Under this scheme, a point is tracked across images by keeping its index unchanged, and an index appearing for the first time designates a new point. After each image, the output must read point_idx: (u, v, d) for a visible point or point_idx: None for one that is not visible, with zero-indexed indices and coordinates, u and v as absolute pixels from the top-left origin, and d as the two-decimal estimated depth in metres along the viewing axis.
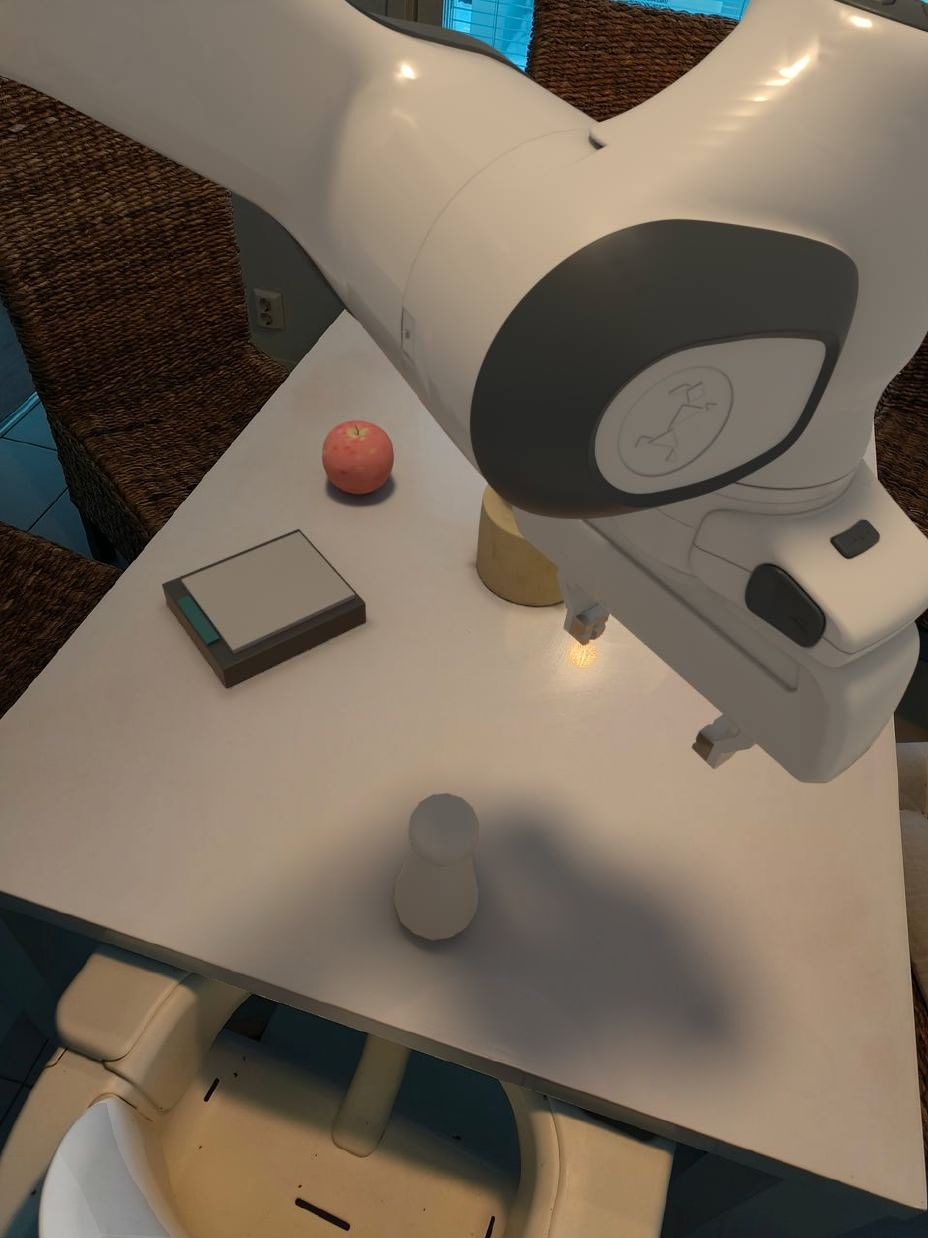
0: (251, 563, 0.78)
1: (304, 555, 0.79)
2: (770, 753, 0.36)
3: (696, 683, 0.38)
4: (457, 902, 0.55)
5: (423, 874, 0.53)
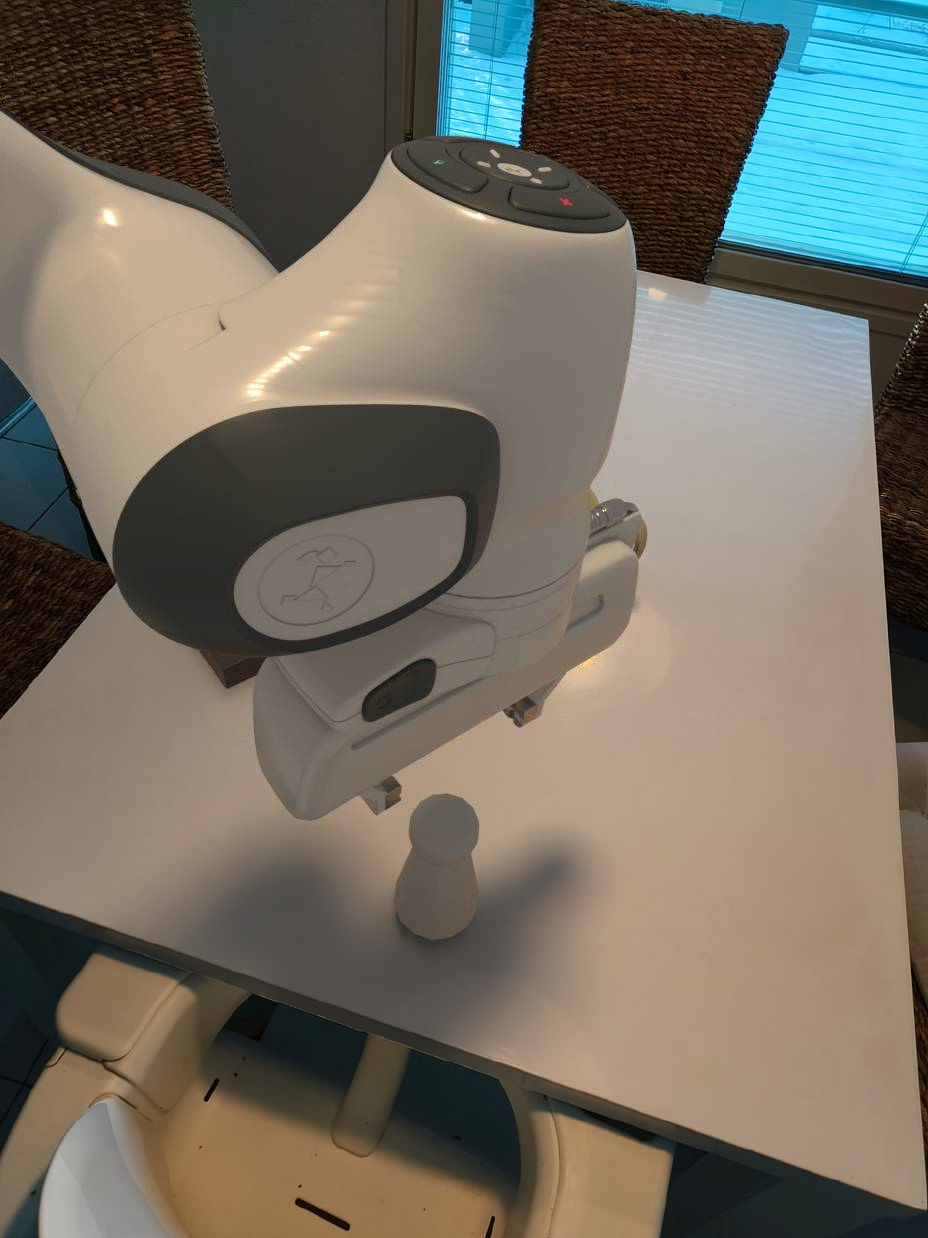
0: None
1: None
2: None
3: None
4: (457, 902, 0.55)
5: (423, 874, 0.53)
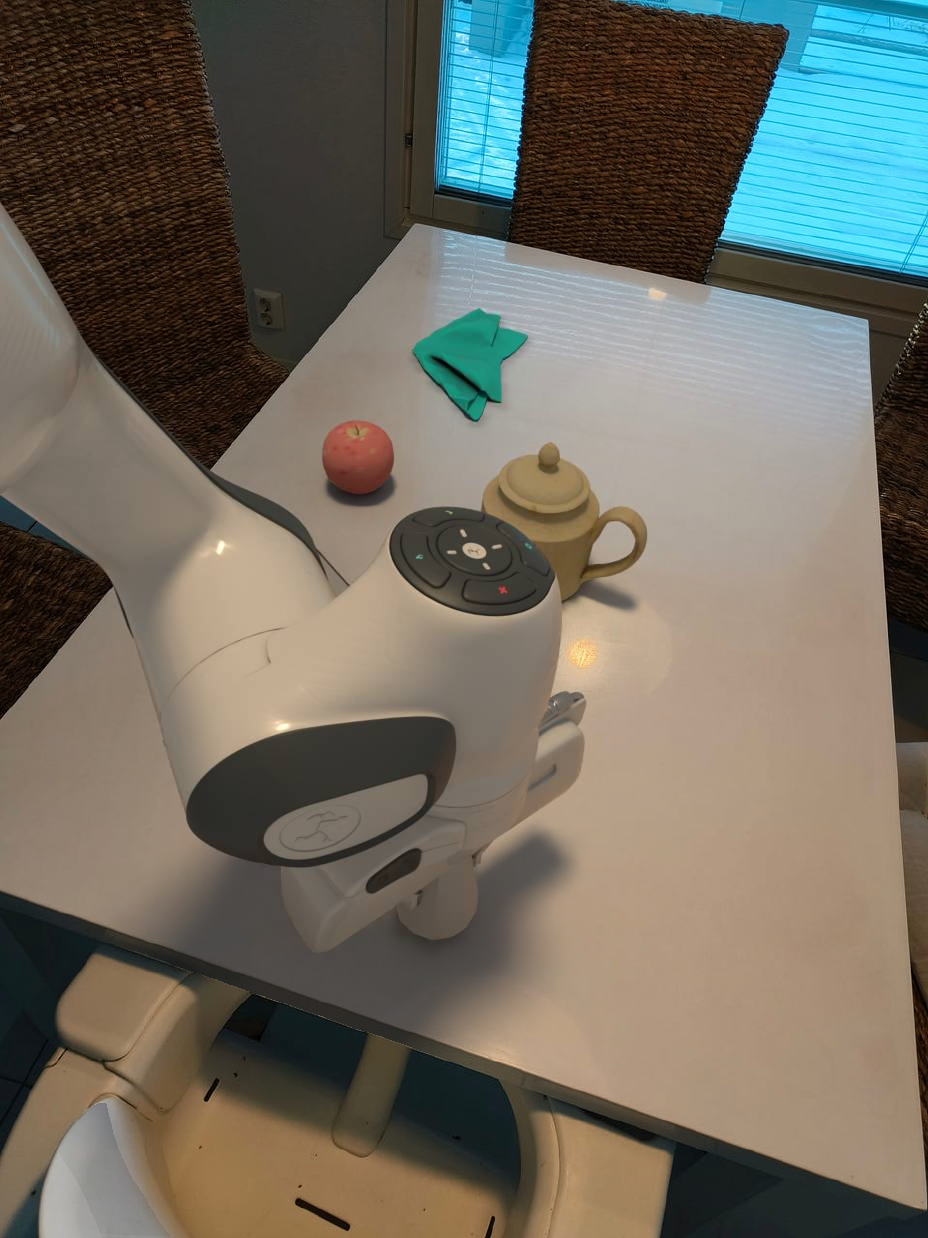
0: None
1: None
2: None
3: None
4: (457, 902, 0.55)
5: None
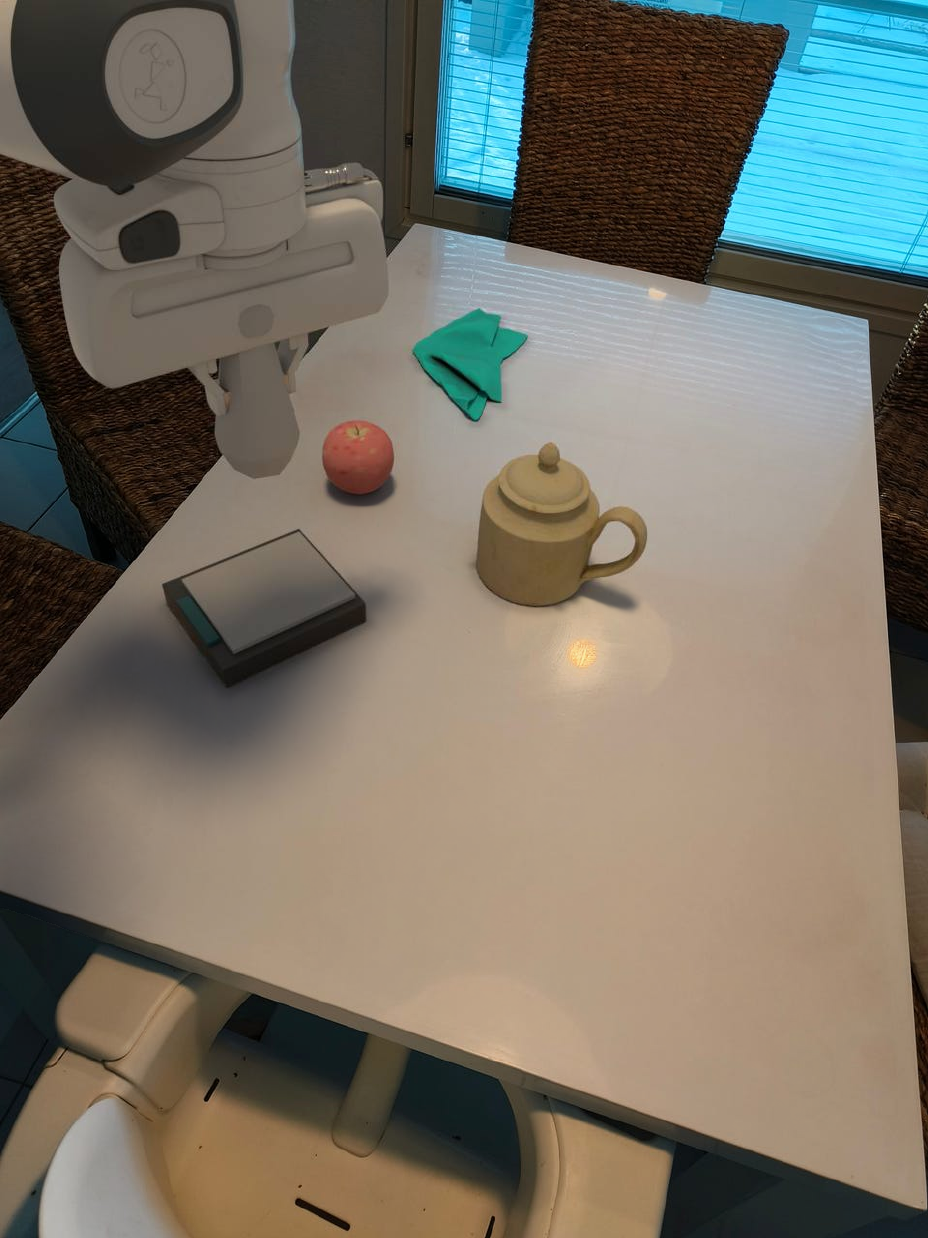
0: (251, 563, 0.78)
1: (304, 555, 0.79)
2: None
3: None
4: (266, 409, 0.56)
5: (226, 366, 0.54)
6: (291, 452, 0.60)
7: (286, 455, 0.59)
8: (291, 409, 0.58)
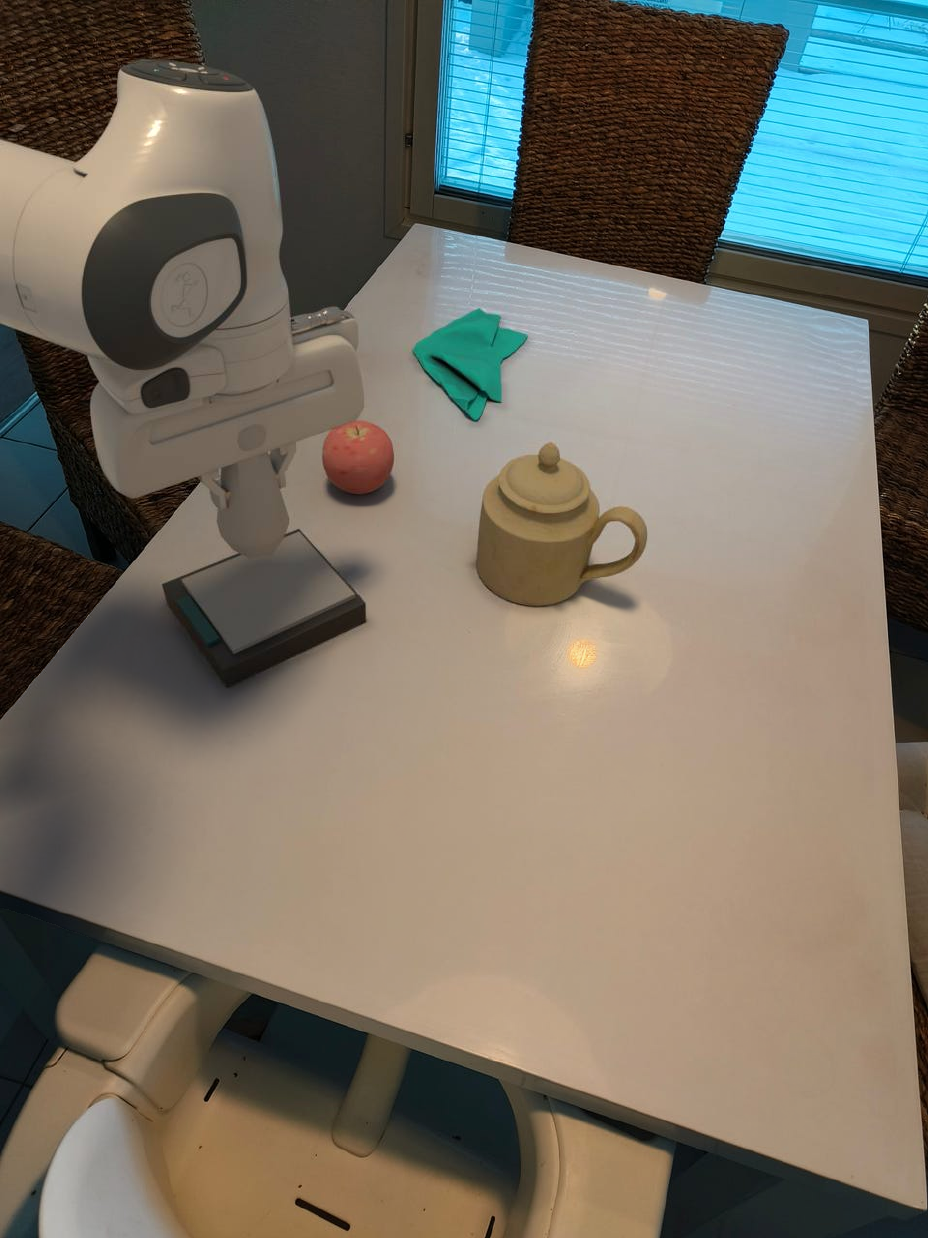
0: (251, 563, 0.78)
1: (304, 555, 0.79)
2: None
3: None
4: (260, 505, 0.66)
5: (227, 471, 0.65)
6: (282, 536, 0.70)
7: (278, 540, 0.69)
8: (282, 501, 0.69)
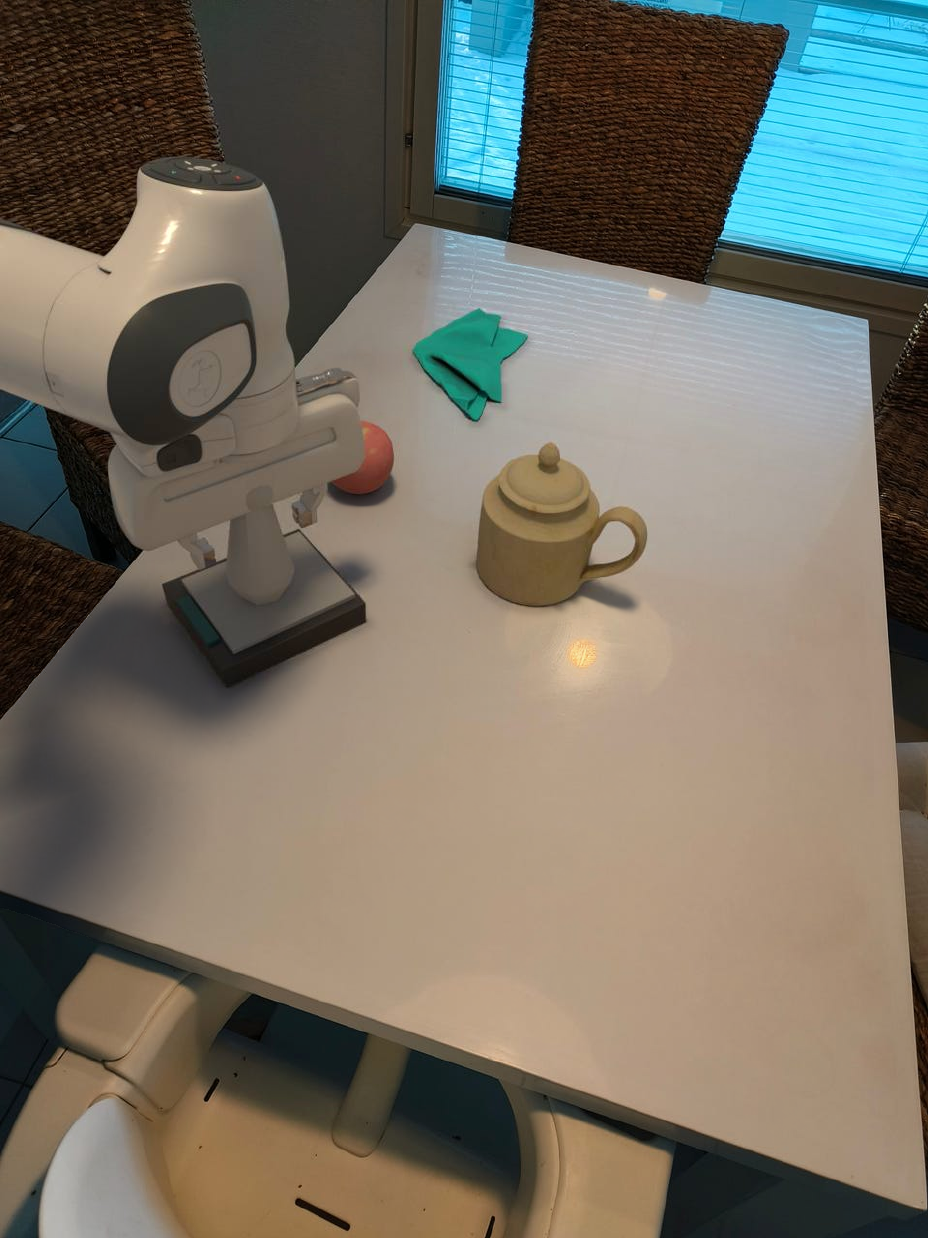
0: None
1: (304, 555, 0.79)
2: None
3: None
4: (267, 557, 0.71)
5: (236, 527, 0.69)
6: (287, 585, 0.74)
7: (283, 588, 0.73)
8: (287, 552, 0.73)
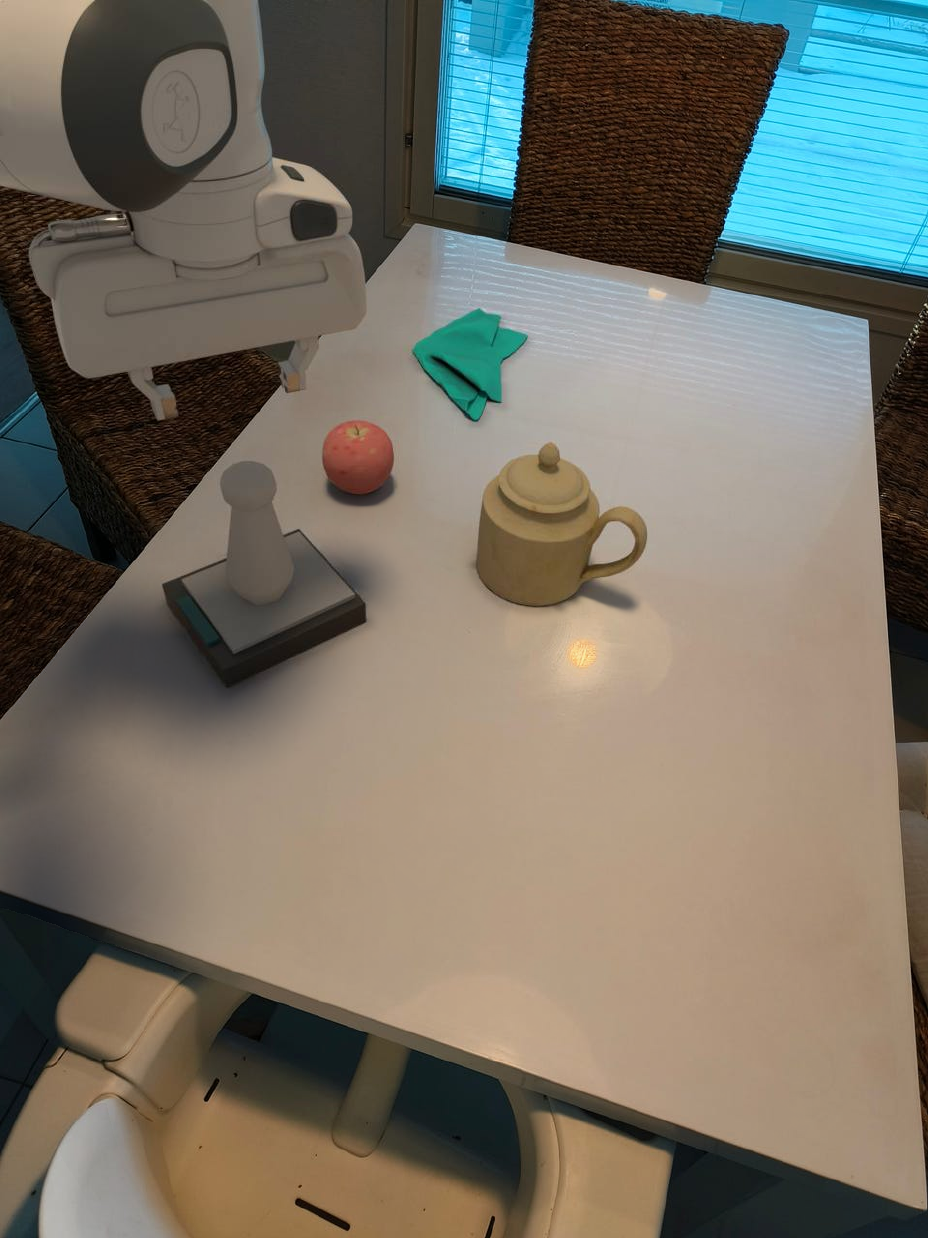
0: None
1: (304, 555, 0.79)
2: (335, 329, 0.60)
3: (277, 336, 0.58)
4: (267, 557, 0.71)
5: (236, 527, 0.69)
6: (287, 585, 0.74)
7: (283, 588, 0.73)
8: (287, 552, 0.73)
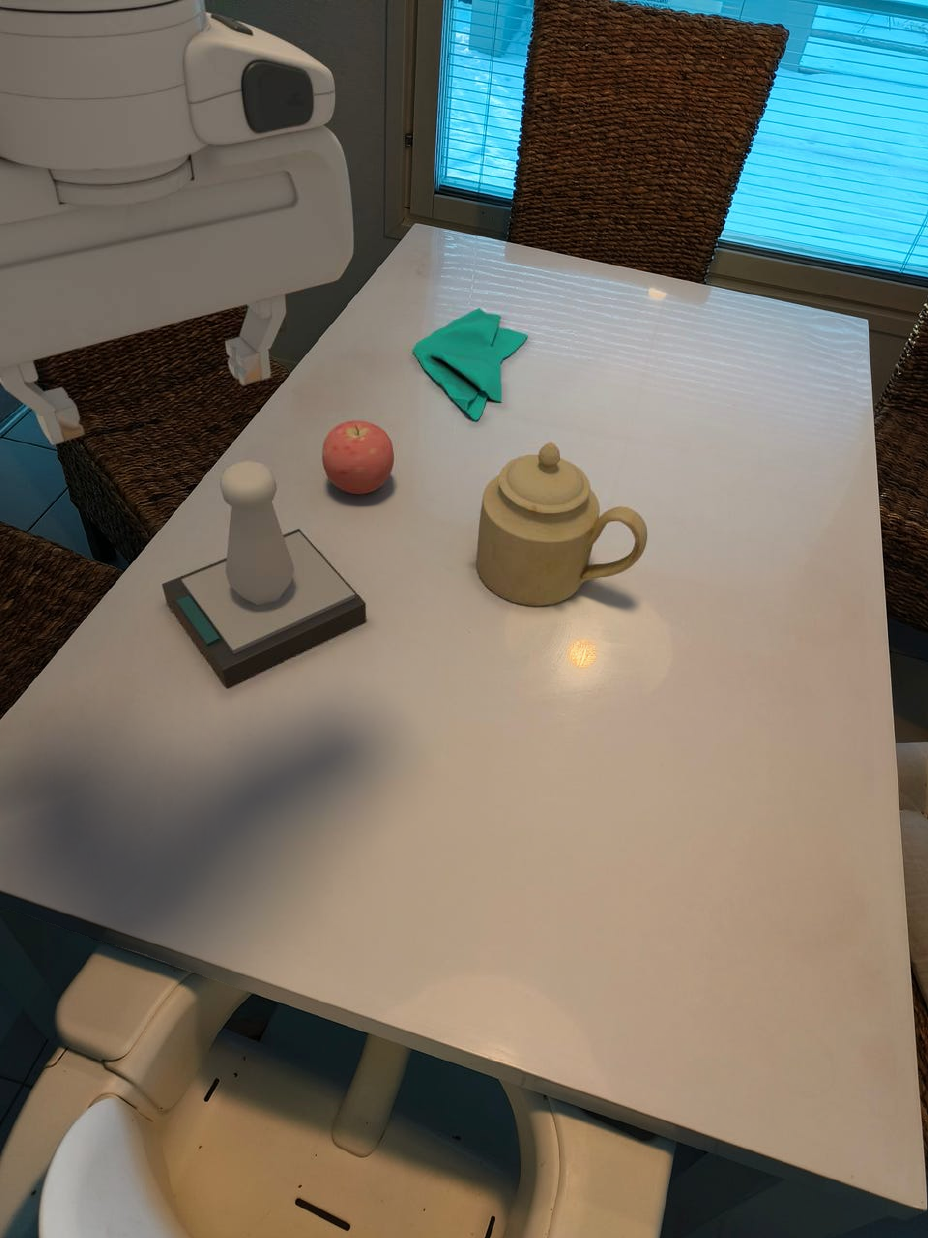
0: None
1: (304, 555, 0.79)
2: (311, 282, 0.40)
3: (228, 297, 0.38)
4: (267, 557, 0.71)
5: (236, 527, 0.69)
6: (287, 585, 0.74)
7: (283, 588, 0.73)
8: (287, 552, 0.73)
